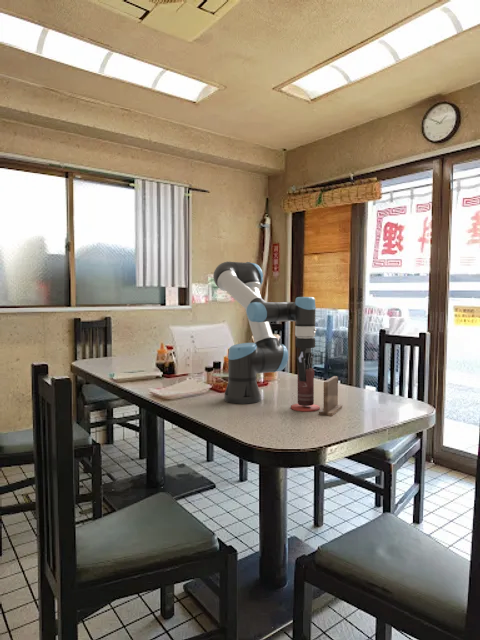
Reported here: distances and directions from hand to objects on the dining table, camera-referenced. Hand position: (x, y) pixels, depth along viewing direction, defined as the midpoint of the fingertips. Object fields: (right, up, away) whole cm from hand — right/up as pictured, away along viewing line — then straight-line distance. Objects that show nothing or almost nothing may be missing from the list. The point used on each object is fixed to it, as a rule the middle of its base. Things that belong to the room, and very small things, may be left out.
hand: (305, 398), depth 171 cm
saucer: (0, -4, 0) cm, 4 cm away
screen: (+9, -4, -4) cm, 11 cm away
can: (0, -2, 0) cm, 2 cm away
